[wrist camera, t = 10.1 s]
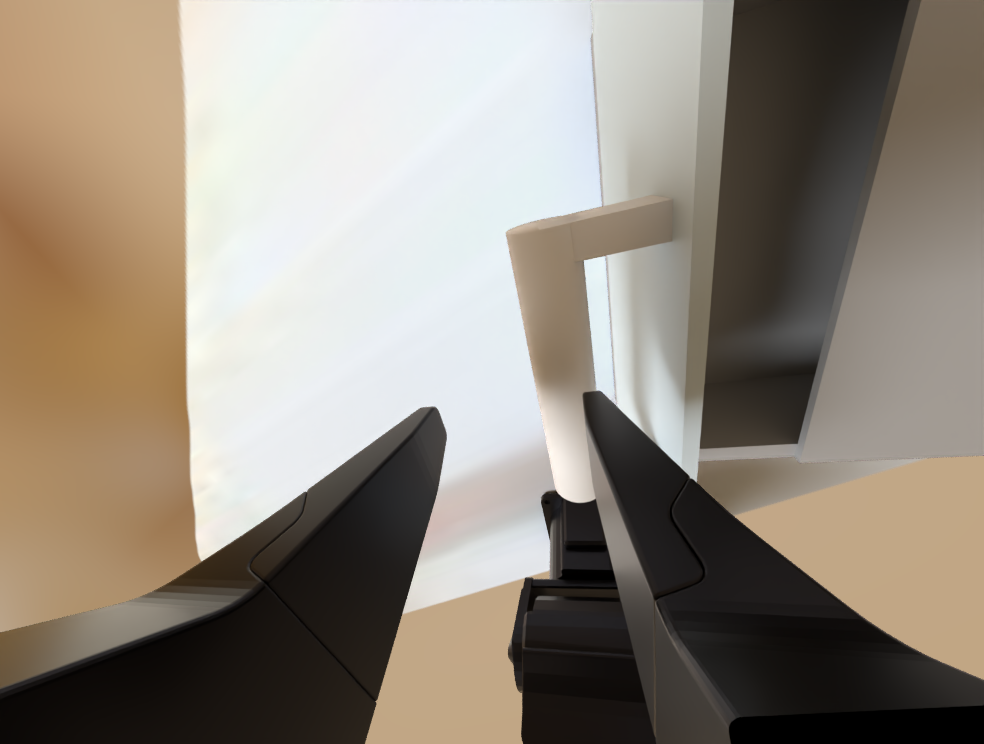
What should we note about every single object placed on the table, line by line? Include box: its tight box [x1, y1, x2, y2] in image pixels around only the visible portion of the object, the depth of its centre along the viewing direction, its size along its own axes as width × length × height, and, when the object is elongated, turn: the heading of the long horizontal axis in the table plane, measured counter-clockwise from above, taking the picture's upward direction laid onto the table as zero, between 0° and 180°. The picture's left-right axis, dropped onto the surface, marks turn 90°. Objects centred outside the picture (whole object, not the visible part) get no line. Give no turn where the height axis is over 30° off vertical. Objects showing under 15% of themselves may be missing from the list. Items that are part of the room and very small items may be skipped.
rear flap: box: [506, 0, 734, 503], centre depth 11 cm, size 18×7×4 cm
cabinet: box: [591, 0, 984, 463], centre depth 14 cm, size 18×14×6 cm
